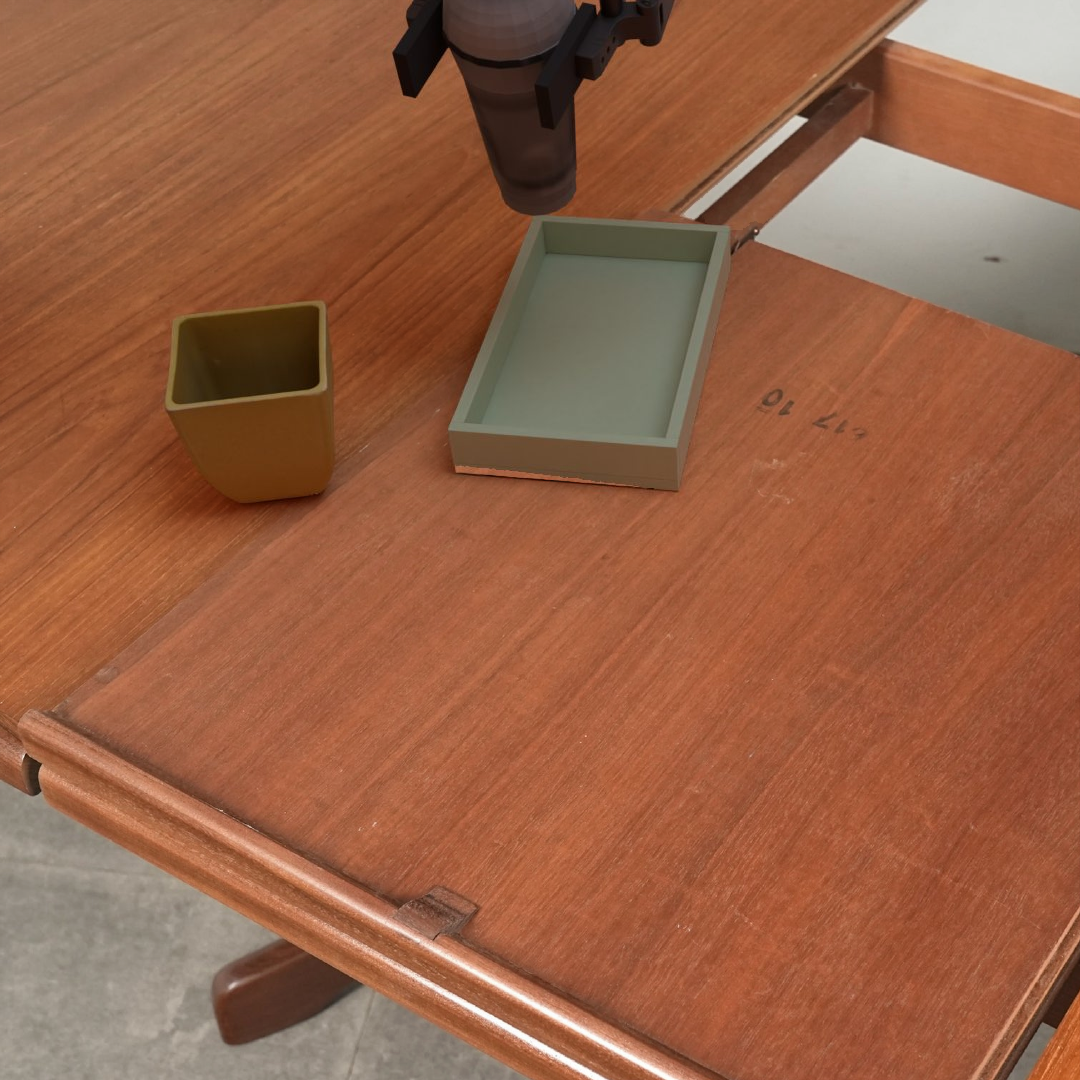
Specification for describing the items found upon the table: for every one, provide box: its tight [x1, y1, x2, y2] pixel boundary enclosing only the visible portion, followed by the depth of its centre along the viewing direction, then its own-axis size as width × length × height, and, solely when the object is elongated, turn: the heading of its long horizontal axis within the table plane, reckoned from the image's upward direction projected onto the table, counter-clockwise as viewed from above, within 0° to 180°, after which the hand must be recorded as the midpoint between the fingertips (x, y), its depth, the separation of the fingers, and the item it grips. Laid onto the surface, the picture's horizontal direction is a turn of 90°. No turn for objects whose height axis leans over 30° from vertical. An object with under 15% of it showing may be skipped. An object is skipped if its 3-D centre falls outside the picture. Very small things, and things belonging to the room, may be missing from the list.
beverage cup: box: [442, 0, 579, 217], centre depth 83 cm, size 7×7×20 cm
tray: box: [447, 214, 732, 492], centre depth 99 cm, size 24×14×3 cm, turn 172°
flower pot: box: [164, 300, 336, 504], centre depth 90 cm, size 9×9×9 cm
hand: (473, 91), depth 80 cm, fingers closed on beverage cup, 7 cm apart
